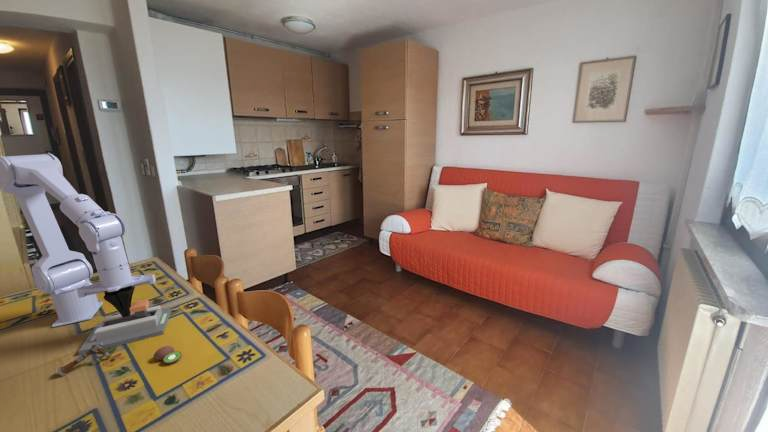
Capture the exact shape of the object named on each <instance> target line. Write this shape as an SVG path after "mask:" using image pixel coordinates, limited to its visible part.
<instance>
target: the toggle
mask: <svg viewBox="0 0 768 432" xmlns="http://www.w3.org/2000/svg"><path fill="white" fill-rule="evenodd" d="M149 304H150V302H149V299H145V300H140V301H136V302H132V303H131V307H130V309H129V310H130V313H135V316H136V319H140V318H145V317H149V316H151V314H150V313H148V312H147V308H149V306H150V305H149ZM136 319H135V320H136Z"/></svg>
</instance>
